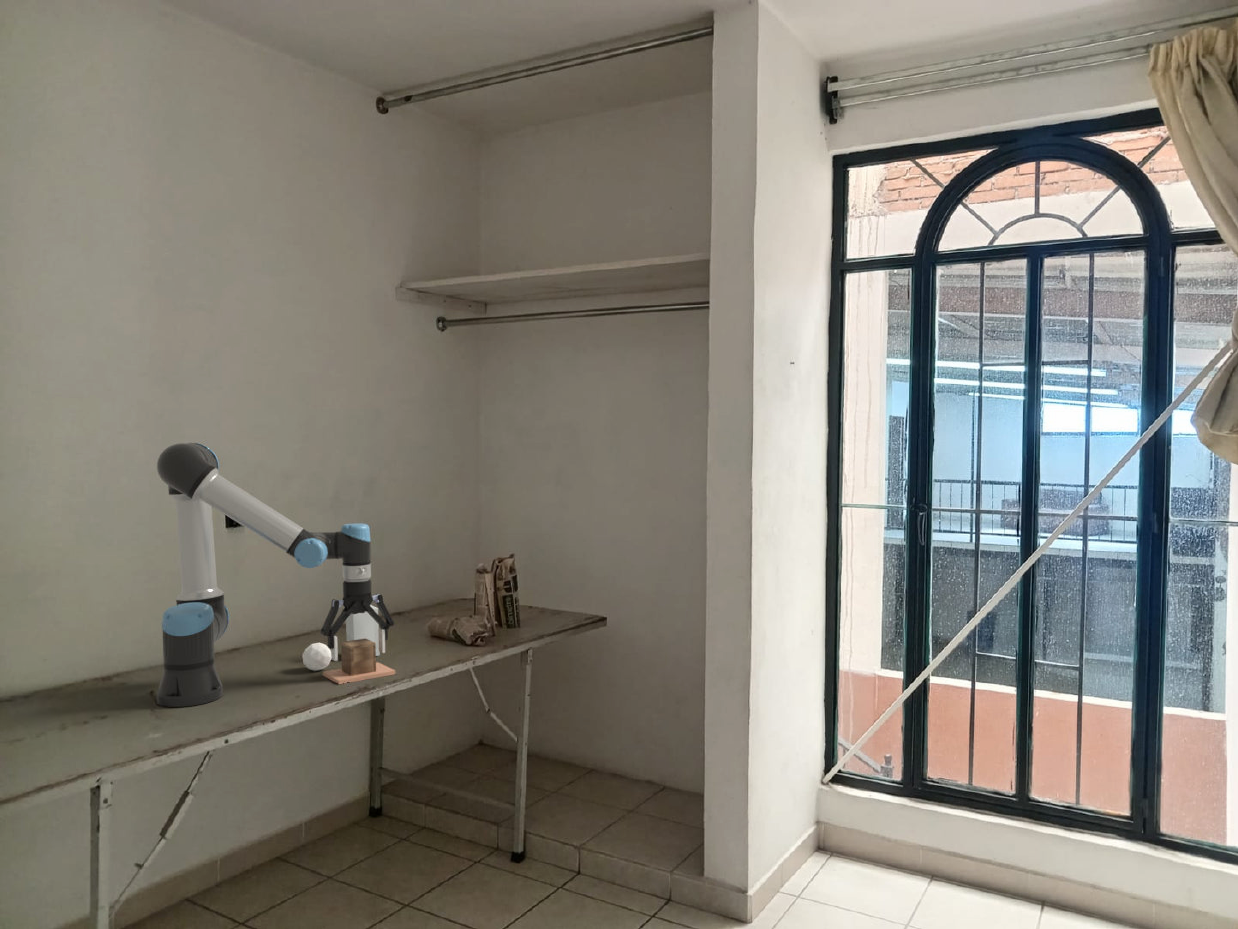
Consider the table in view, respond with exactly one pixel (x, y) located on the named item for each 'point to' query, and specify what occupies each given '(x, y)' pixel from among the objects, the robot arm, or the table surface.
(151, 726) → the table surface
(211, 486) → the robot arm
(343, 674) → the base plate
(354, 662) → the cardboard carton
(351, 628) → the skincare box
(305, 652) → the ball
